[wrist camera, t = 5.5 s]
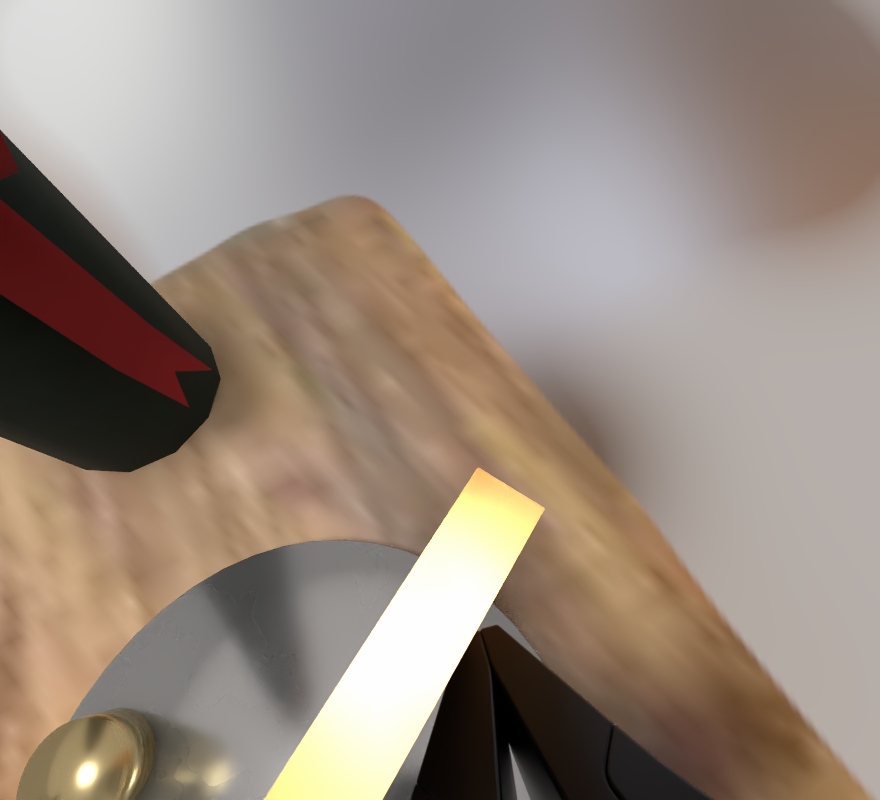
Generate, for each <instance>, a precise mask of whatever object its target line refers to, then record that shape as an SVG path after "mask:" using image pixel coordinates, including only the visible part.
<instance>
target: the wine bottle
mask: <svg viewBox="0 0 880 800" xmlns="http://www.w3.org/2000/svg"><path fill="white" fill-rule="evenodd" d="M219 382H220V376H219V373H218V369H217V366H216V363H215V360H214V356H213V353H212V350H211V347H210V346H209V345H208V344H207V343H206V342H205V341H204V340H203V339H202V338H201V337H200V336H199V335H198V334H197V333H196V332H195V331H194V330H193V329H192V328H191V326H190V325H189V324H188V323H187V322H186V321H185V320H184V319H183V318H182V317H181V316H180V315H179V314H178V313H177V312H176V311H175V310H174V309H173V308H172V307H171V306H170V305H169V304H168V303H167V302H166V301H165V300H164V299H163V298H162V297H161V296H160V294H159V293H158V292H157V291H156V290H155V289H154V288H153V287H152V286H151V285H150V284H149V283H148V282H147V281H146V280H145V279H144V278H143V277H142V276H141V275H140V274H139V273H138V272H137V271H136V270H135V269H134V268H133V267H132V266H131V265H130V263H128V261H127V260H126V259H125V258H124V257H123V256H122V255H121V254H120V253H119V252H118V251H117V250H116V249H115V248H114V247H113V246H112V245H111V244H110V243H109V242H108V241H107V240H106V239H105V238H104V237H103V236H102V235H101V234H100V233H99V232H98V230H96V229H95V227H94V226H93V225H92V224H91V223H90V222H89V221H88V220H87V219H86V218H85V217H84V216H83V215H82V214H81V213H80V212H79V211H78V210H77V209H76V208H75V207H74V206H73V205H72V204H71V203H70V202H69V200H67V199H66V197H64V195H63V194H62V193H61V192H60V191H59V190H58V189H57V188H56V187H55V186H54V185H53V184H52V183H51V182H50V181H49V180H48V179H47V178H46V177H45V176H44V175H43V174H42V173H41V172H40V171H39V170H38V168H36V166H35V165H34V164H33V163H32V162H31V161H30V160H29V159H28V158H27V157H26V156H25V155H24V154H23V153H22V152H21V151H20V150H19V149H18V148H17V147H16V146H15V145H14V144H13V143H12V142H11V141H10V140H9V139H8V137H7V136H5V134H4V133H3V132H2V131H1V130H0V437H2V438H5V439H8V440H10V441H13V442H15V443H18V444H21V445H23V446H26V447H28V448H31V449H34V450H36V451H39V452H41V453H44V454H47V455H49V456H52V457H54V458H57V459H60V460H62V461H65V462H67V463H70V464H73V465H75V466H78V467H80V468H83V469H85V470H100V471H119V472H131V471H133V470H135V469H138V468H140V467H142V466H145V465H147V464H149V463H151V462H154V461H156V460H158V459H161V458H163V457H165V456H167V455H170V454H172V453H174V452H176V451H177V450H178V449H179V447H180V446H181V445H182V444H183V443H184V442H185V441H186V440H187V439H188V438H189V437H190V436H191V435H192V434H193V433H194V432H195V431H196V430H197V429H198V427H199V426H200V425H201V424H202V423H203V422H204V421H205V420H206V419H207V418H208V416H209V413H210V410H211V407H212V404H213V401H214V397H215V394H216V391H217V388H218V385H219Z"/></svg>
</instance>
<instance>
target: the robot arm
mask: <svg viewBox="0 0 880 800" xmlns="http://www.w3.org/2000/svg"><path fill="white" fill-rule="evenodd" d="M509 745H510V747H509ZM510 748H511V751H512V754H513V756H514V759H515V761H516V764H517V766H518V769H519V772H520V774H521V777H522V779H523V782H524V784H525V787H526V789H527V792H528V795H529V797H530V800H714V799H713V798H711V797H710V796H708V795H707V794H705V793H704V792H703V791H701V790H700V789H698V788H697V787H695V786H694V785H693V784H691V783H690V782H688V781H687V780H686V779H684V778H683V777H681V776H680V775H679V774H677V773H676V772H674V771H673V770H672V769H670V768H669V767H668V766H666V765H665V764H663V763H662V762H661V761H659V760H658V759H657V758H656V757H654V756H653V755H652V754H651V753H650V752H648V751H647V750H646V749H645V748H643V747H642V746H641V745H640V744H638V743H637V742H636V741H635V740H633V739H632V738H631V737H630V736H629V735H628V734H626V733H625V732H624V731H623V730H622V729H621V728H619V727H618V726H617V725H614V724H613V722H611V721H610V720H609V719H608V718H607V717H606V716H604V715H603V714H602V713H601V712H600V711H599V710H597V709H596V708H595V707H594V706H593V705H592V704H590V703H589V702H588V701H587V700H586V699H585V698H583V697H582V696H581V695H580V694H579V693H577V692H576V691H575V690H574V689H573V688H572V687H570V686H569V685H568V684H567V683H566V682H565V681H563V680H562V679H561V678H560V677H559V676H558V675H556V674H555V673H554V672H553V671H552V670H551V669H549V668H548V667H547V666H546V665H545V664H544V663H542V662H541V661H540V660H539V659H538V658H536V657H535V656H534V655H533V654H532V653H531V652H529V651H528V650H527V649H526V648H525V647H524V646H522V645H521V644H520V643H519V642H518V641H517V640H515V639H514V638H513V637H512V636H511V635H510V634H508V633H507V632H506V631H505V630H504V629H503V628H501V627H500V626H499V625H493V626H489V627H485V628H482V629H481V630H480V631H479V630H477V631H476V632H475V634H474V636H473V638H472V640H471V641H470V643H469V645H468V647H467V649H466V650H465V652H464V654H463V656H462V657H461V659H460V661H459V663H458V665H457V666H456V668H455V670H454V672H453V674H452V675H451V677H450V679H449V681H448V683H447V684H446V686H445V690H444V693H443V696H442V699H441V703H440V706H439V709H438V712H437V716H436V719H435V722H434V725H433V729H432V732H431V735H430V738H429V742H428V745H427V748H426V751H425V755H424V758H423V761H422V764H421V768H420V771H419V774H418V777H417V781H416V783H417V784H416V785H415V786H414V789H413V792H412V795H411V798H410V800H517V793H516V786H515V780H514V773H513V766H512V759H511V753H510Z"/></svg>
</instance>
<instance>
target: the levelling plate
mask: <svg viewBox="0 0 880 800" xmlns="http://www.w3.org/2000/svg"><path fill="white" fill-rule="evenodd" d="M419 558H420V557H419V556H416V555H414V554H411V553H409V552H407V551H404V550H400V549H396V548H392V547H388V546H384V545H380V544H376V543H368V542H358V541H349V540H332V541H312V542H306V543H300V544H294V545H288V546H283V547H280V548H277V549H273V550H270V551H267V552H264V553H260V554H257V555H254V556H251V557H249V558H247V559H245V560H242V561H240V562H238V563H236V564H233V565H231V566H229V567H227V568H224V569H222V570H221V571H219V572H217V573H216V574H214V575H212V576H211V577H209V578H207V579H206V580H204V581H202V582H200V583H199V584H197V585H195V586H194V587H192V588H191V589H190V590H188V591H187V592H186V593H184V594H183V595H182V596H180V597H179V598H178V599H176V600H175V601H174V602H172V603H171V604H170V605H168V606H167V607H166V608H164V609H163V610H162V611H161V612H160V613H159V614H158V615H157V616H156V617H154V618H153V619H152V620H151V621H150V622H149V623H148V624H147V625H146V626H145V627H144V628H143V629H141V630H140V631H139V632H138V633H137V634H136V635H135V636H134V637H133V638H132V639H131V641H130V642H129V643H128V644H127V645H126V646H125V647H124V648H123V650H122V651H121V652H120V653H119V654H118V655H117V656H116V657H115V659H114V660H113V661H112V662H111V663H110V664H109V665H108V666H107V668H106V669H105V671H104V672H103V673H102V675H101V676H100V677H99V679H98V680H97V681H96V683H95V684H94V685H93V687H92V688H91V690H90V691H89V692H88V694H87V695H86V696H85V698H84V699H83V700H82V702H81V703H80V705H79V707H78V708H77V710H76V712H75V713H74V715H73V717H72V718H71V720H70V722H68V723H66V724H64V725H62V726H60V727H59V728H57V729H56V730H55V731H53V732H52V733H51V734H50V735H49V736H47V737H46V738H45V739H44V740H43V742H42V743H41V744H40V745H39V746H38V748H37V749H36V750H35V752H34V753H33V755H32V756H31V758H30V759H29V761H28V763H27V765H26V767H25V769H24V772H23V774H22V777H21V780H20V783H19V787H18V792H17V799H16V800H264V799H265V797H266V796H267V794H268V793H269V791H270V789H271V788H272V786H273V785H274V783H275V782H276V780H277V779H278V777H279V775H280V774H281V772H282V771H283V769H284V768H285V766H286V765H287V763H288V761H289V760H290V758H291V757H292V755H293V754H294V752H295V751H296V749H297V747H298V746H299V744H300V743H301V741H302V740H303V738H304V737H305V735H306V733H307V732H308V730H309V729H310V727H311V726H312V724H313V723H314V721H315V720H316V718H317V716H318V715H319V713H320V712H321V710H322V709H323V707H324V706H325V704H326V702H327V701H328V699H329V698H330V696H331V695H332V693H333V692H334V690H335V688H336V687H337V685H338V684H339V682H340V681H341V679H342V678H343V676H344V674H345V673H346V671H347V670H348V668H349V667H350V665H351V664H352V662H353V660H354V659H355V657H356V656H357V654H358V653H359V651H360V650H361V648H362V647H363V645H364V643H365V642H366V640H367V639H368V637H369V636H370V634H371V633H372V631H373V629H374V628H375V626H376V625H377V623H378V622H379V620H380V619H381V617H382V615H383V614H384V612H385V611H386V609H387V608H388V606H389V605H390V603H391V601H392V600H393V598H394V597H395V595H396V594H397V592H398V591H399V589H400V588H401V586H402V584H403V583H404V581H405V580H406V578H407V577H408V575H409V574H410V572H411V570H412V569H413V567H414V566H415V564H416V563H417V561H418V560H419ZM493 625H499V626H500V627H501V628H503V629H504V630H505V631H506V632H507V633H508V634H510V635H511V636H512V637H513V638H514V639H515V640H517V641H518V642H519V643H520V644H521V645H522V646H524V647H525V648H526V649H527V650H528V651H529V652H531V653H532V654H533V655H534V656H535V657H536V658H538V659H539V660H540V661H541V659H540V658H539V656H538V655H537V653H536V652H535V651H534V649H533V648H532V647H531V646H530V644H529V643H528V642H527V641H526V639H525V638H524V637H523V635H522V634H521V633H520V632H519V630H518V629H517V628H516V627H515V625H514V624H513V623H512V622H511V621H510V620H509V619H508V618H507V617H506V616H505V615H504V614H503V613H502V612H501V611H500V610H499V609H498V608H497V607H496V606H495V605H494V604H493V603H492V604H491V606H490V607H489V609H488V611H487V613H486V614H485V616H484V618H483V620H482V622H481V623H480V625H479V627H478V629H477V630H479V631H480V630H481V629H482V628H485V627H489V626H493ZM541 662H542V661H541ZM444 690H445V688H444ZM444 690H443V692H442V693H441V695H440V697H439V699H438V700H437V702H436V704H435V706H434V708H433V709H432V711H431V713H430V715H429V717H428V718H427V720H426V722H425V724H424V726H423V727H422V729H421V731H420V733H419V735H418V736H417V738H416V740H415V742H414V743H413V745H412V747H411V749H410V751H409V752H408V754H407V756H406V758H405V760H404V761H403V763H402V765H401V767H400V769H399V770H398V772H397V774H396V776H395V778H394V779H393V781H392V783H391V785H390V786H389V788H388V790H387V792H386V794H385V795H384V797H383V799H382V800H410V798H411V795H412V792H413V789H414V786H415V785H416V784H417V783H416V781H417V777H418V774H419V771H420V768H421V764H422V761H423V758H424V755H425V751H426V748H427V745H428V742H429V738H430V735H431V732H432V729H433V725H434V722H435V719H436V716H437V712H438V709H439V706H440V703H441V699H442V696H443V693H444ZM509 747H510V745H509ZM510 753H511V759H512V766H513V773H514V780H515V786H516V793H517V800H530V797H529V795H528V792H527V789H526V787H525V784H524V782H523V779H522V777H521V774H520V772H519V769H518V766H517V764H516V761H515V759H514V756H513V754H512V751H511V748H510Z"/></svg>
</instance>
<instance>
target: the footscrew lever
mask: <svg viewBox="0 0 880 800" xmlns="http://www.w3.org/2000/svg"><path fill="white" fill-rule="evenodd" d="M544 509H545V508H543V507H542V506H540V505H539V504H537V503H535V502H534V501H532V500H530V499H529V498H527V497H526V496H524V495H522V494H521V493H519V492H517V491H516V490H514V489H513V488H511V487H509V486H508V485H506V484H504V483H503V482H501V481H500V480H498V479H496V478H495V477H493V476H491V475H490V474H488V473H486V472H485V471H483V470H482V469H480V468H477V469H476V471H475V473H474V474H473V476H472V477H471V479H470V480H469V482H468V483H467V485H466V487H465V488H464V490H463V491H462V493H461V494H460V496H459V497H458V499H457V501H456V502H455V504H454V505H453V507H452V508H451V510H450V511H449V513H448V515H447V516H446V518H445V519H444V521H443V522H442V524H441V525H440V527H439V528H438V530H437V532H436V533H435V535H434V536H433V538H432V539H431V541H430V542H429V544H428V546H427V547H426V549H425V550H424V552H423V553H422V555H421V556H420V558H419V560H418V561H417V563H416V564H415V566H414V567H413V569H412V570H411V572H410V574H409V575H408V577H407V578H406V580H405V581H404V583H403V584H402V586H401V588H400V589H399V591H398V592H397V594H396V595H395V597H394V598H393V600H392V601H391V603H390V605H389V606H388V608H387V609H386V611H385V612H384V614H383V615H382V617H381V619H380V620H379V622H378V623H377V625H376V626H375V628H374V629H373V631H372V633H371V634H370V636H369V637H368V639H367V640H366V642H365V643H364V645H363V647H362V648H361V650H360V651H359V653H358V654H357V656H356V657H355V659H354V660H353V662H352V664H351V665H350V667H349V668H348V670H347V671H346V673H345V674H344V676H343V678H342V679H341V681H340V682H339V684H338V685H337V687H336V688H335V690H334V692H333V693H332V695H331V696H330V698H329V699H328V701H327V702H326V704H325V706H324V707H323V709H322V710H321V712H320V713H319V715H318V716H317V718H316V720H315V721H314V723H313V724H312V726H311V727H310V729H309V730H308V732H307V733H306V735H305V737H304V738H303V740H302V741H301V743H300V744H299V746H298V747H297V749H296V751H295V752H294V754H293V755H292V757H291V758H290V760H289V761H288V763H287V765H286V766H285V768H284V769H283V771H282V772H281V774H280V775H279V777H278V779H277V780H276V782H275V783H274V785H273V786H272V788H271V789H270V791H269V793H268V794H267V796H266V797H265V799H264V800H382V799H383V797H384V795H385V794H386V792H387V790H388V788H389V786H390V785H391V783H392V781H393V779H394V778H395V776H396V774H397V772H398V770H399V769H400V767H401V765H402V763H403V761H404V760H405V758H406V756H407V754H408V752H409V751H410V749H411V747H412V745H413V743H414V742H415V740H416V738H417V736H418V735H419V733H420V731H421V729H422V727H423V726H424V724H425V722H426V720H427V718H428V717H429V715H430V713H431V711H432V709H433V708H434V706H435V704H436V702H437V700H438V699H439V697H440V695H441V693H442V692H443V690H444V688H445V686H446V684H447V683H448V681H449V679H450V677H451V675H452V674H453V672H454V670H455V668H456V666H457V665H458V663H459V661H460V659H461V657H462V656H463V654H464V652H465V650H466V649H467V647H468V645H469V643H470V641H471V640H472V638H473V636H474V634H475V632H476V631H477V629H478V627H479V625H480V623H481V622H482V620H483V618H484V616H485V614H486V613H487V611H488V609H489V607H490V606H491V604H492V602H493V600H494V598H495V597H496V595H497V593H498V591H499V589H500V588H501V586H502V584H503V582H504V580H505V579H506V577H507V575H508V573H509V571H510V570H511V568H512V566H513V564H514V562H515V561H516V559H517V557H518V555H519V554H520V552H521V550H522V548H523V546H524V545H525V543H526V541H527V539H528V537H529V536H530V534H531V532H532V530H533V528H534V527H535V525H536V523H537V521H538V519H539V518H540V516H541V514H542V512H543V511H544Z"/></svg>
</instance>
